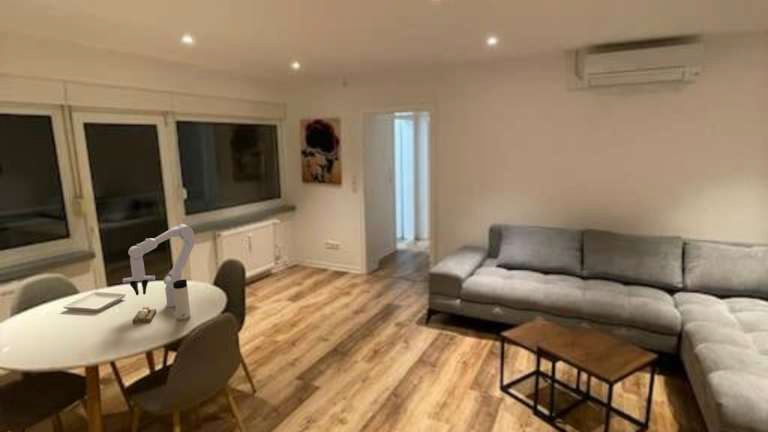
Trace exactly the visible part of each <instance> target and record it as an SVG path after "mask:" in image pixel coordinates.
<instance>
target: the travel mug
mask: <svg viewBox="0 0 768 432" xmlns="http://www.w3.org/2000/svg"><path fill="white" fill-rule="evenodd" d="M173 289H174V298H175V306H174V307H175V314H176V320H177V321H180V322H181V321H186V320H189V319H190V318H191V311H190V310H191V308H190V299H189V291H188V290H189V289H188V281H187V279H185V278H184V279H181V280H178V281H176V282H173Z"/></svg>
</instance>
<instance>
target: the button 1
mask: <svg viewBox="0 0 768 432" xmlns="http://www.w3.org/2000/svg"><path fill="white" fill-rule="evenodd" d="M146 318H147V317H146V313H145V312H141V313H139V319H146Z"/></svg>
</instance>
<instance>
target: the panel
mask: <svg viewBox="0 0 768 432" xmlns="http://www.w3.org/2000/svg"><path fill="white" fill-rule="evenodd" d="M149 310H150V313H149V314H148V316H147V317H146V319H139V313H141V310H138V311H137V313H136V314H135V315H134V316H133V317H134V318H133V319H132V325H138V324H147V323H152V322H153V320H154V317H155V316H156V314H157V309H156V308H154V309H149Z"/></svg>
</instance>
